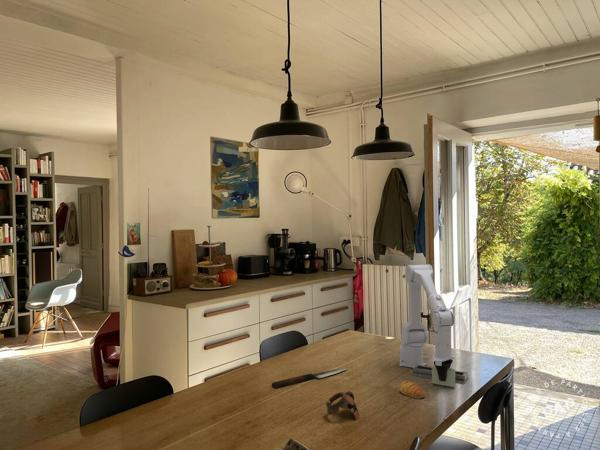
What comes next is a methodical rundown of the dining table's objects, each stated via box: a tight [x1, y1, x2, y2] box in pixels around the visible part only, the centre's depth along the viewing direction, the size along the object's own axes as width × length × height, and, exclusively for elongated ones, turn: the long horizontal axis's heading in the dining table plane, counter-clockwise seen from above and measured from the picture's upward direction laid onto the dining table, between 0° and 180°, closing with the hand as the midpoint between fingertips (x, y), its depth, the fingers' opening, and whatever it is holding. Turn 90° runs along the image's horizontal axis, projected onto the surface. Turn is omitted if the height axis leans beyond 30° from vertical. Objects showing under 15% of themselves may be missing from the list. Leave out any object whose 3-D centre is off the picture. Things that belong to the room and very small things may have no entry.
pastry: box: [399, 380, 426, 399], centre depth 162 cm, size 9×7×4 cm
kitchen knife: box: [271, 367, 348, 389], centre depth 180 cm, size 36×2×5 cm
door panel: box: [431, 365, 456, 388], centre depth 170 cm, size 8×2×6 cm, turn 58°
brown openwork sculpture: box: [325, 391, 360, 421], centre depth 146 cm, size 12×10×8 cm
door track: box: [411, 365, 469, 385], centre depth 180 cm, size 20×8×2 cm, turn 58°
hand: (443, 379), depth 170 cm, fingers closed on door panel, 2 cm apart
